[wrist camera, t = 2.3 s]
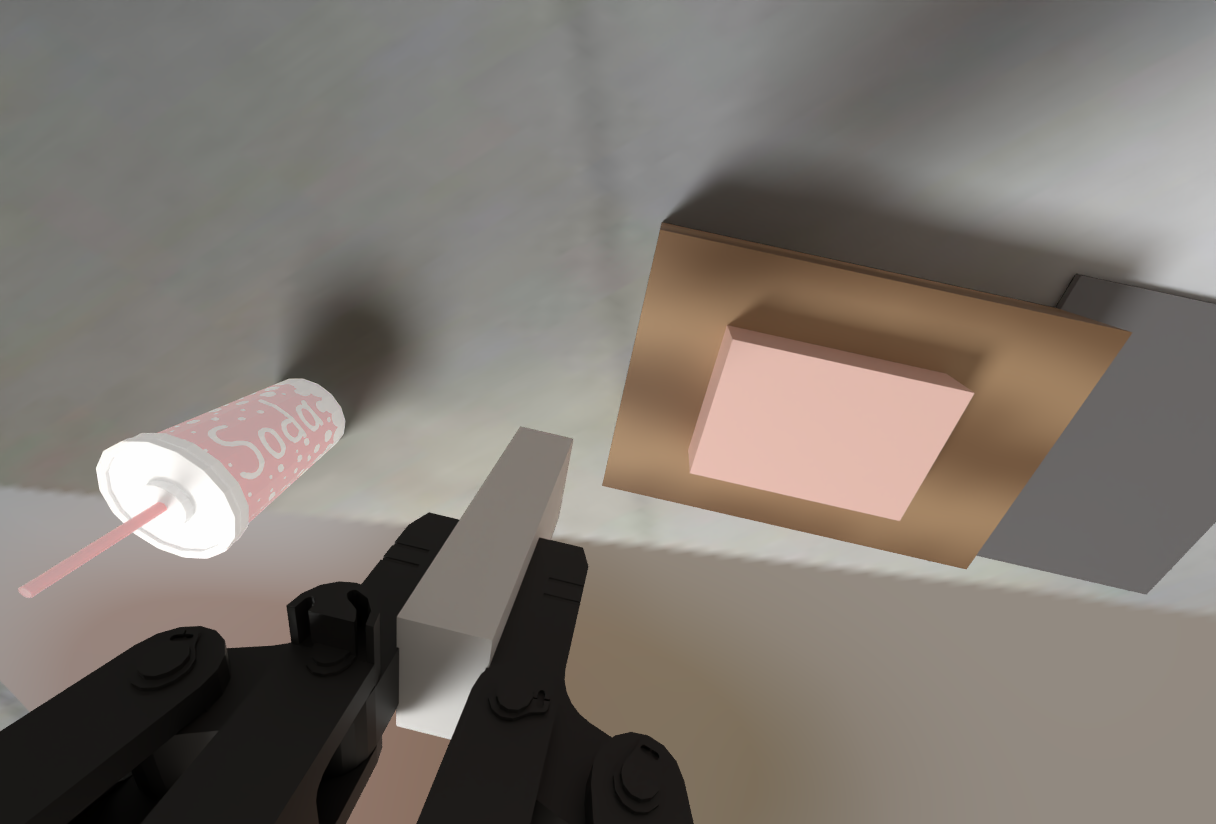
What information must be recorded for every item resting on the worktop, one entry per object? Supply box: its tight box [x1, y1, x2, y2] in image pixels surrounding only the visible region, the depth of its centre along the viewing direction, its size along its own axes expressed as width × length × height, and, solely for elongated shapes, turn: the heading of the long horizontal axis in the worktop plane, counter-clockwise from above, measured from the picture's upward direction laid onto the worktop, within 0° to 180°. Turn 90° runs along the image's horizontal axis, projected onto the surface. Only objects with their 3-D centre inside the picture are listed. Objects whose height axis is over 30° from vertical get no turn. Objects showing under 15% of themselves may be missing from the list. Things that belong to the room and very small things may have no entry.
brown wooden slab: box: [602, 222, 1133, 569], centre depth 23 cm, size 12×18×4 cm, turn 79°
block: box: [688, 325, 974, 521], centre depth 20 cm, size 6×9×2 cm, turn 79°
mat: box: [976, 274, 1216, 594], centre depth 24 cm, size 15×13×1 cm
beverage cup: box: [18, 379, 345, 598], centre depth 22 cm, size 6×6×14 cm
